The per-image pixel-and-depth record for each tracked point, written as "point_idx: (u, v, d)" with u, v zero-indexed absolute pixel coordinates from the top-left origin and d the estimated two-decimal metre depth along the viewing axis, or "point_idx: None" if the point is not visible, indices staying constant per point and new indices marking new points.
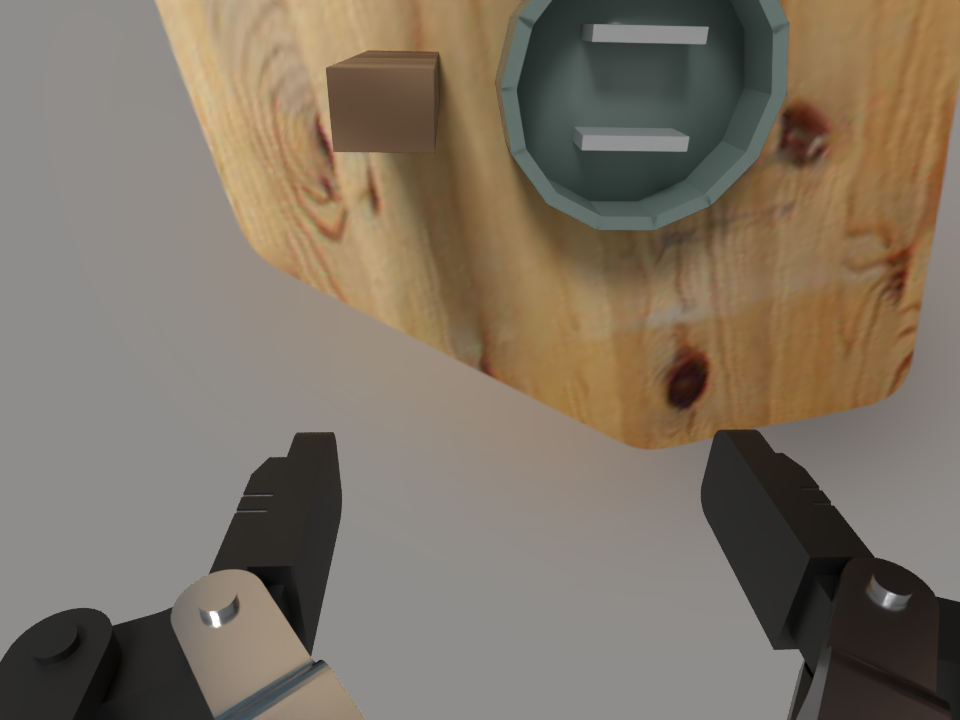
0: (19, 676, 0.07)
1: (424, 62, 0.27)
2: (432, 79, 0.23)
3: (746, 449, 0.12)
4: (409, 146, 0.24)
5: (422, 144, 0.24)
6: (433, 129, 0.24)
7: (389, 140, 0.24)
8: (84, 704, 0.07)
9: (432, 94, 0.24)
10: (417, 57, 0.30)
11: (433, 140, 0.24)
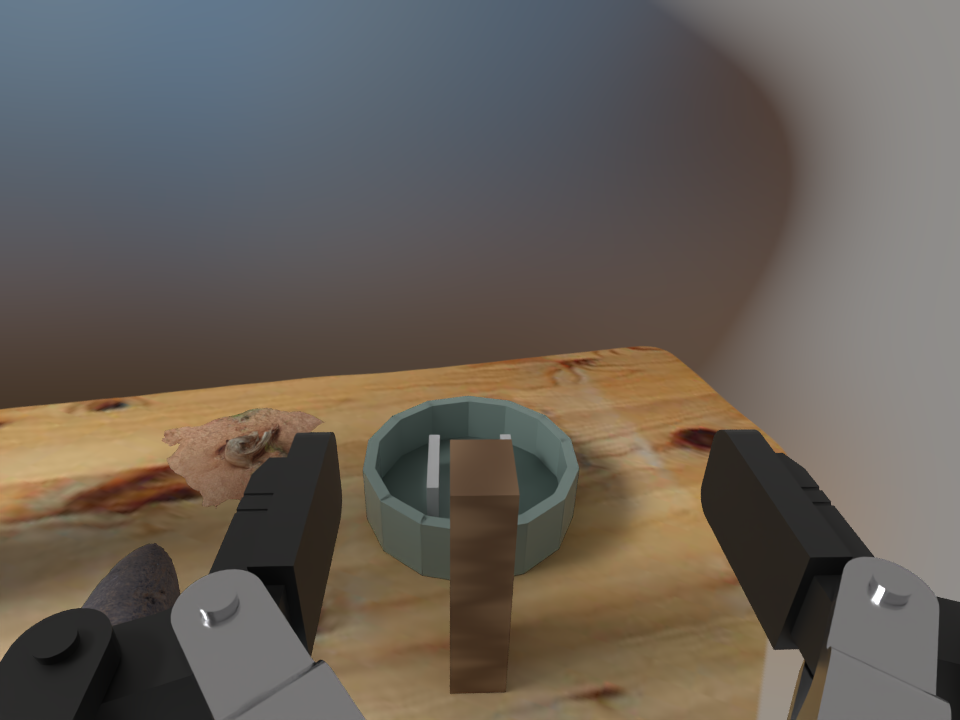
0: (19, 676, 0.07)
1: None
2: None
3: (746, 449, 0.12)
4: (508, 452, 0.29)
5: (505, 445, 0.30)
6: (493, 441, 0.30)
7: (505, 462, 0.29)
8: (84, 703, 0.07)
9: (467, 440, 0.30)
10: None
11: (502, 440, 0.30)
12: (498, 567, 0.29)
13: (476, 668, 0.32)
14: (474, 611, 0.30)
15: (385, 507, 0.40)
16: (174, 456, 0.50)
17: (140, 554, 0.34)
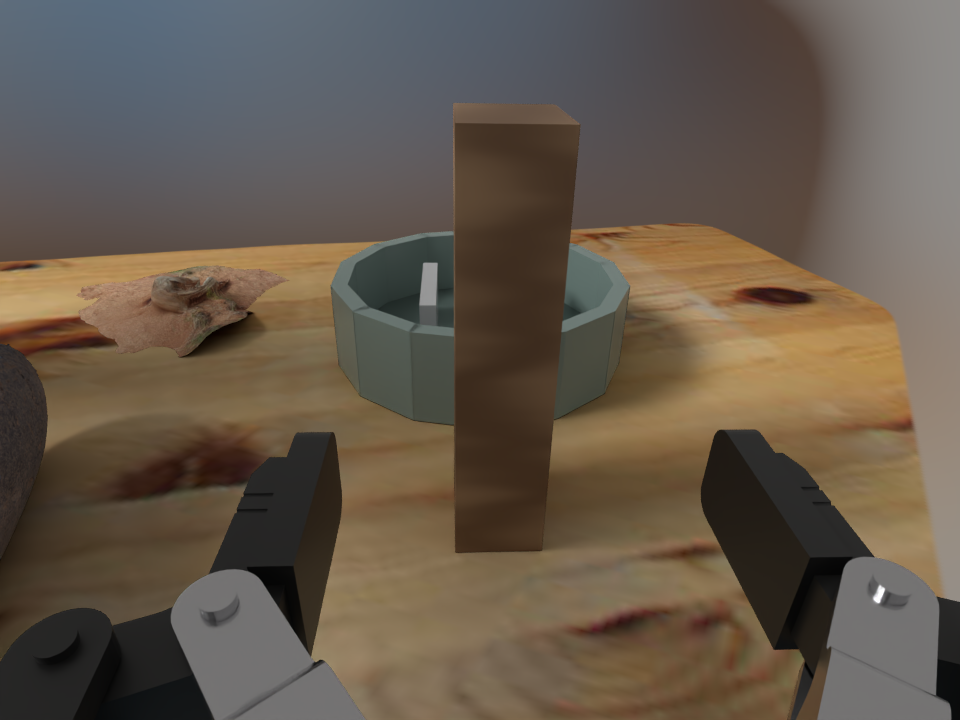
0: (19, 676, 0.07)
1: None
2: None
3: (746, 449, 0.12)
4: (551, 108, 0.17)
5: (546, 106, 0.18)
6: None
7: (548, 111, 0.17)
8: (84, 703, 0.07)
9: (482, 104, 0.18)
10: None
11: (539, 105, 0.18)
12: (538, 295, 0.17)
13: (496, 504, 0.20)
14: (496, 389, 0.18)
15: (359, 320, 0.28)
16: (88, 308, 0.38)
17: None
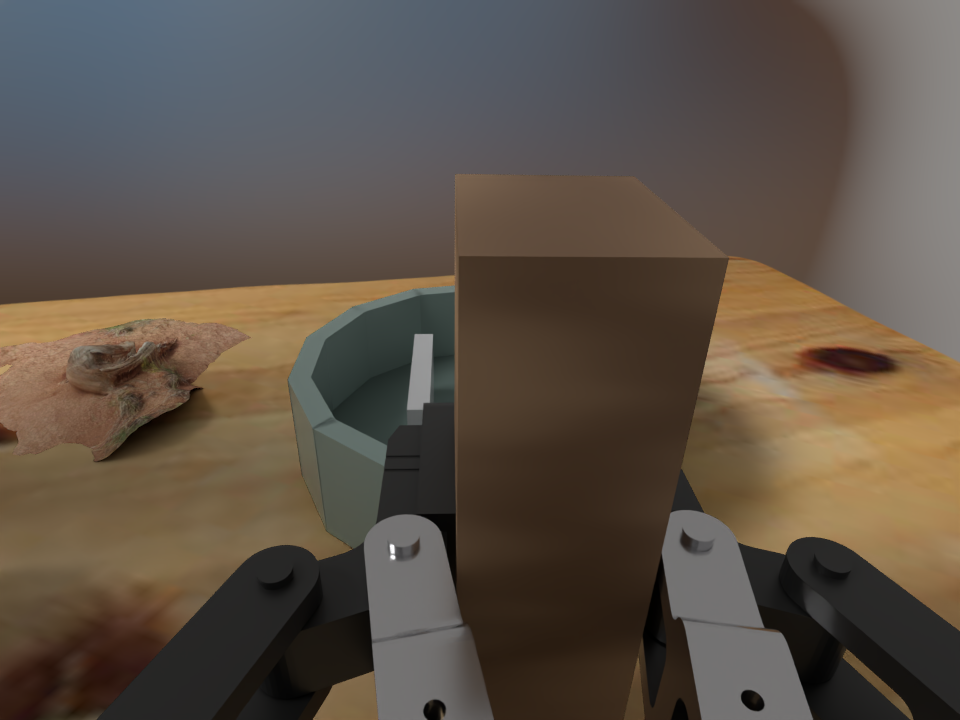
0: (243, 589, 0.09)
1: None
2: None
3: None
4: (636, 191, 0.09)
5: (622, 183, 0.10)
6: None
7: (635, 204, 0.09)
8: (281, 635, 0.08)
9: (506, 177, 0.10)
10: None
11: (606, 177, 0.10)
12: (613, 547, 0.09)
13: None
14: (528, 678, 0.10)
15: (322, 441, 0.20)
16: None
17: None
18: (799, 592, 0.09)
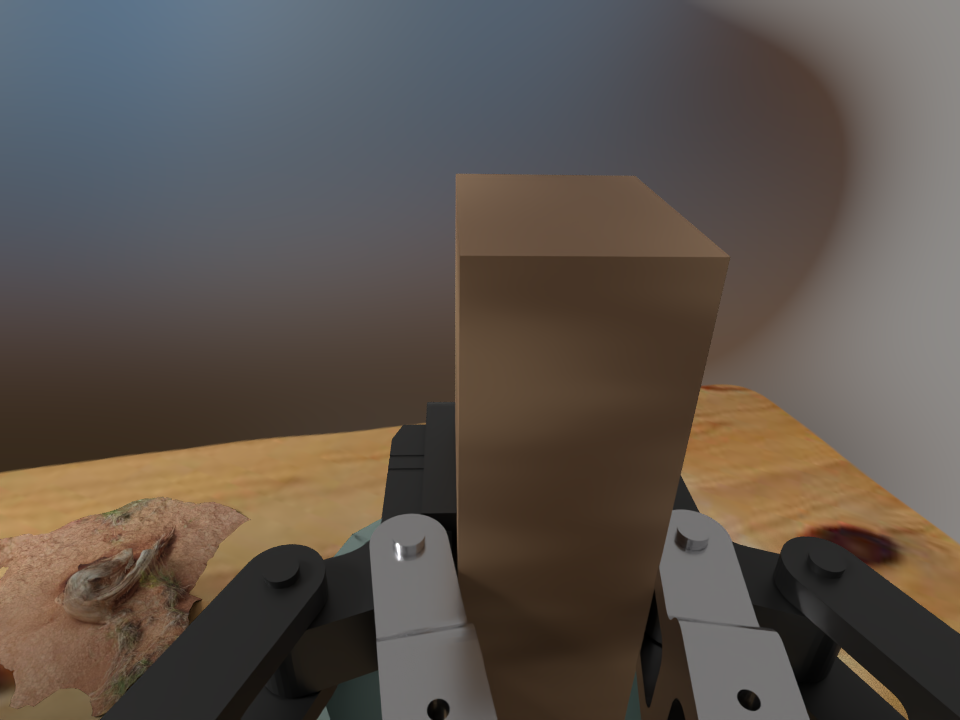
0: (249, 588, 0.09)
1: (455, 412, 0.12)
2: None
3: None
4: (636, 190, 0.09)
5: (623, 182, 0.10)
6: None
7: (636, 203, 0.09)
8: (285, 634, 0.08)
9: (507, 177, 0.10)
10: None
11: (607, 177, 0.10)
12: (614, 546, 0.09)
13: None
14: (529, 678, 0.10)
15: None
16: None
17: None
18: (793, 592, 0.09)
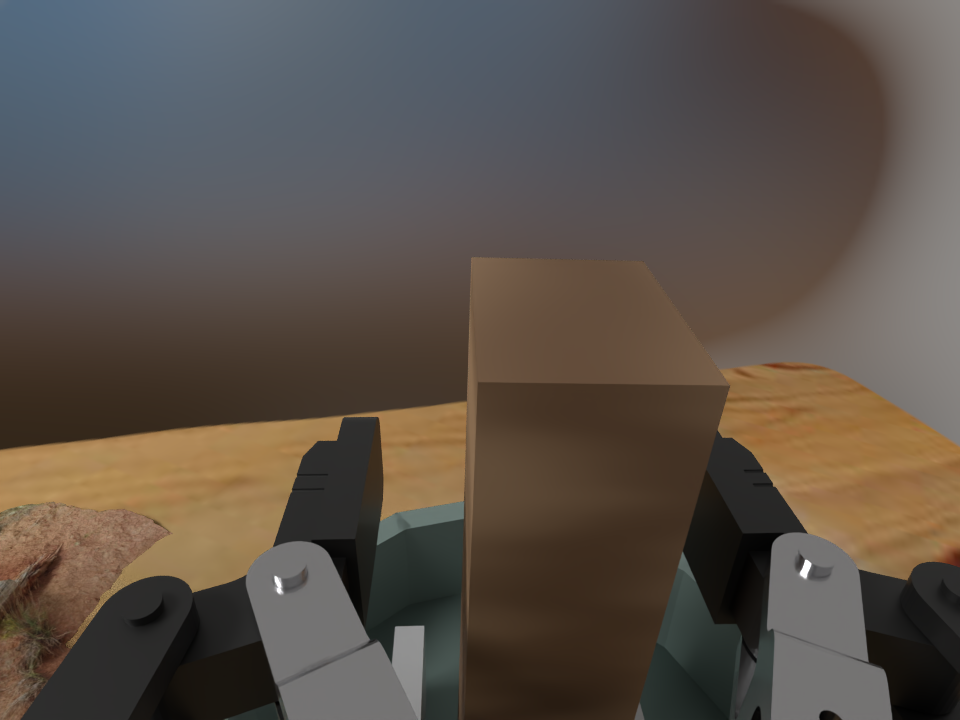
0: (108, 633, 0.08)
1: (465, 472, 0.12)
2: None
3: None
4: (644, 283, 0.10)
5: (631, 271, 0.10)
6: None
7: (643, 304, 0.09)
8: (161, 668, 0.08)
9: (520, 261, 0.11)
10: None
11: (616, 262, 0.11)
12: (615, 624, 0.10)
13: None
14: None
15: None
16: None
17: None
18: (918, 611, 0.09)
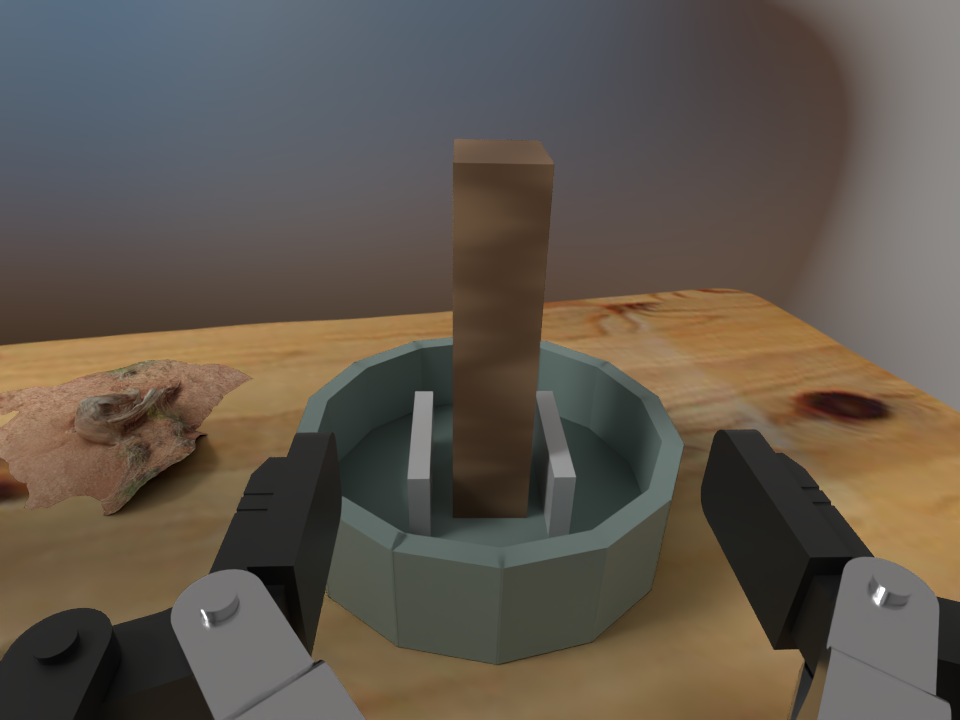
0: (19, 676, 0.07)
1: None
2: None
3: (746, 449, 0.12)
4: (535, 145, 0.21)
5: (532, 142, 0.21)
6: None
7: (531, 149, 0.20)
8: (84, 703, 0.07)
9: (478, 140, 0.22)
10: None
11: (526, 141, 0.22)
12: (521, 301, 0.20)
13: (487, 476, 0.24)
14: (487, 378, 0.22)
15: None
16: (1, 430, 0.31)
17: None
18: None
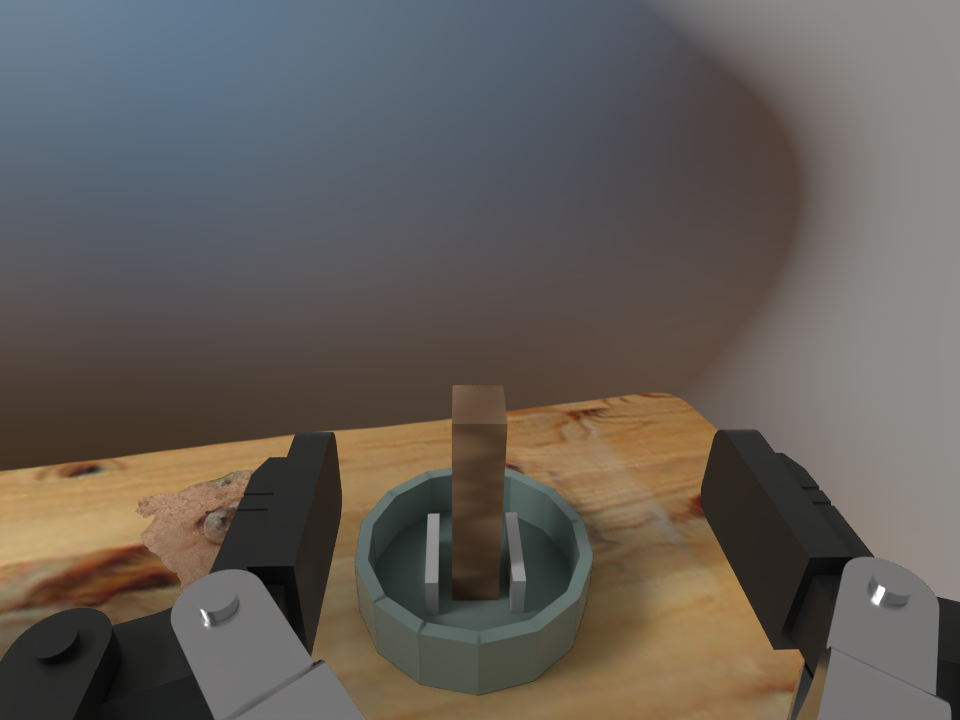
0: (19, 676, 0.07)
1: None
2: (458, 385, 0.37)
3: (746, 449, 0.12)
4: (499, 394, 0.36)
5: (498, 389, 0.37)
6: None
7: (496, 401, 0.35)
8: (84, 703, 0.07)
9: (467, 386, 0.37)
10: None
11: (495, 386, 0.37)
12: (491, 486, 0.36)
13: (473, 577, 0.39)
14: (472, 525, 0.37)
15: (378, 610, 0.36)
16: (148, 531, 0.46)
17: None
18: None
